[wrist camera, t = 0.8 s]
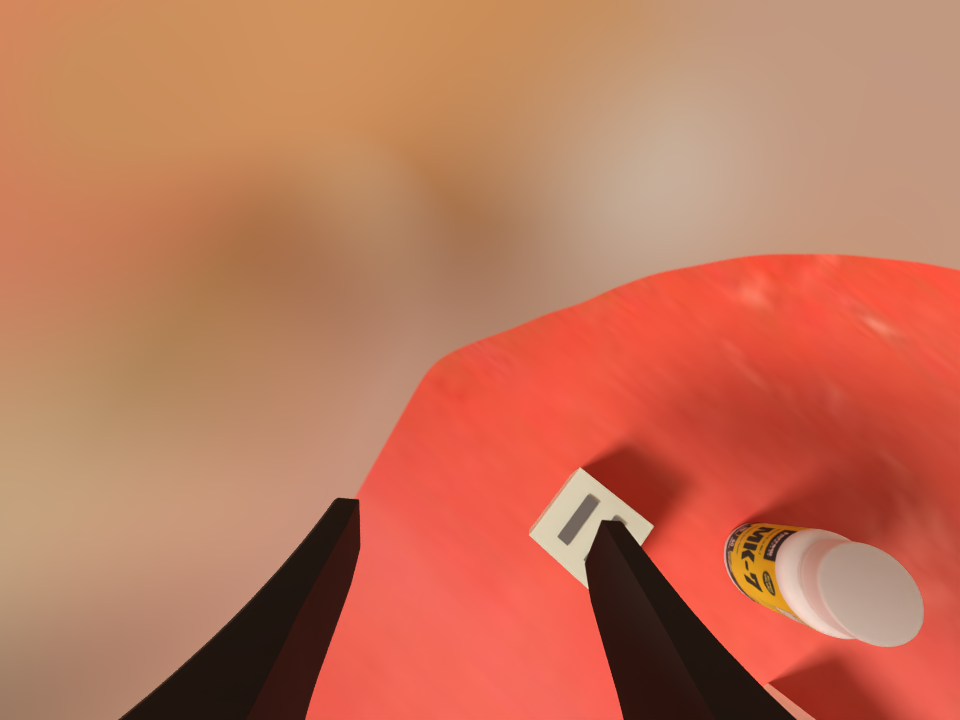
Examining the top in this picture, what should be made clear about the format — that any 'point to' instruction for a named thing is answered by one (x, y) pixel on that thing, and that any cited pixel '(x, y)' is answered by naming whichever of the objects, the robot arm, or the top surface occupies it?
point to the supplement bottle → (826, 582)
